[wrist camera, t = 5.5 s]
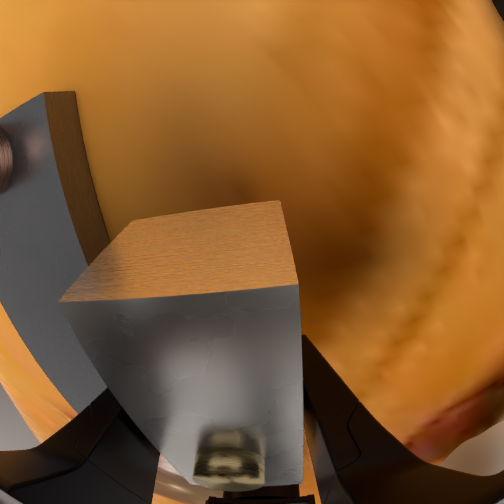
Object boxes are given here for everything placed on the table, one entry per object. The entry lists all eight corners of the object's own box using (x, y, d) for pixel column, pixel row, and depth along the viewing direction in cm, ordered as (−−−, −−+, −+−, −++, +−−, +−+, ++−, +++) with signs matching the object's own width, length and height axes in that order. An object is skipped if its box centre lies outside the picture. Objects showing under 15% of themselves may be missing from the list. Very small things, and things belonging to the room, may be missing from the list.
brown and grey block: (132, 220, 8) (36, 329, 4) (280, 199, 8) (305, 320, 3) (202, 407, 12) (188, 501, 8) (295, 402, 12) (303, 501, 7)
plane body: (-23, 147, 11) (-85, 172, 6) (74, 91, 11) (-7, 96, 6) (100, 408, 22) (82, 455, 17) (188, 417, 21) (178, 474, 16)
